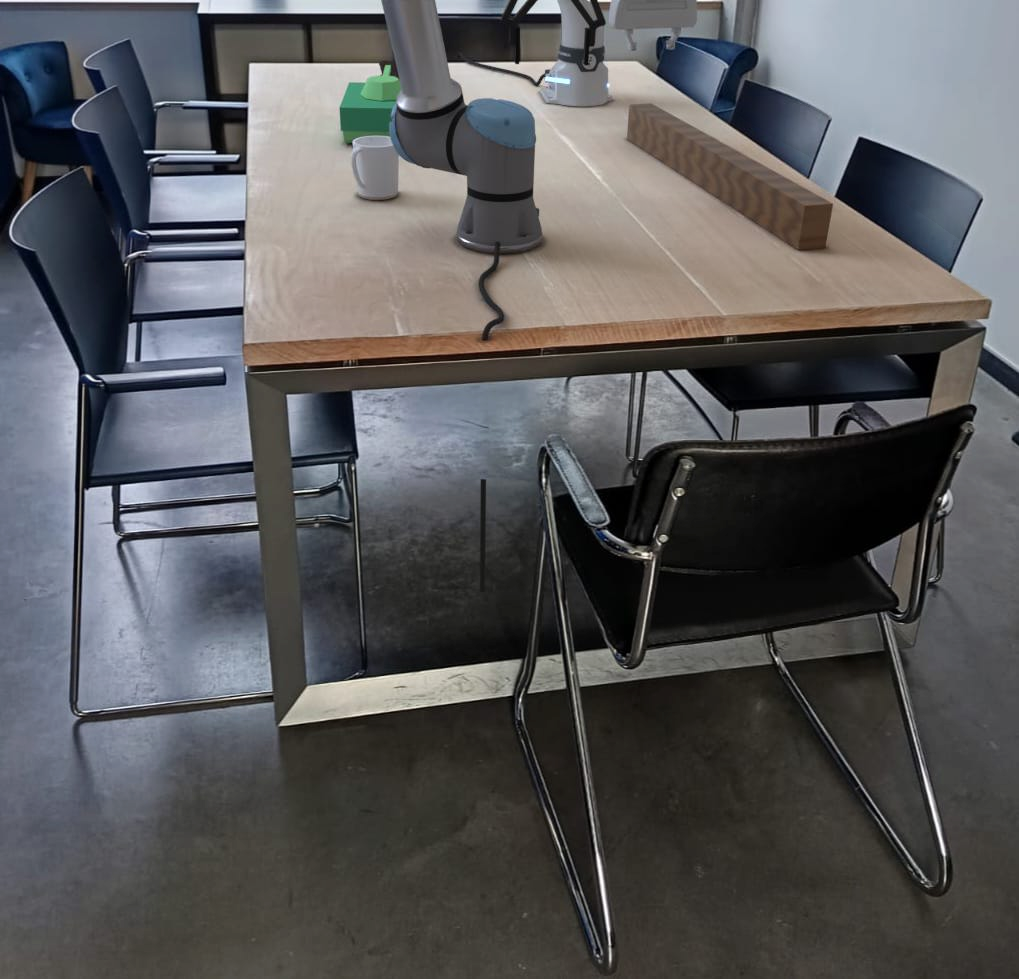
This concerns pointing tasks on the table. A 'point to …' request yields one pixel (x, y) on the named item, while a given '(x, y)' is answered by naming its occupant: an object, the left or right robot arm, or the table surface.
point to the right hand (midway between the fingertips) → (651, 49)
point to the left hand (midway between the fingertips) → (551, 63)
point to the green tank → (369, 106)
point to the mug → (375, 167)
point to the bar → (732, 177)
